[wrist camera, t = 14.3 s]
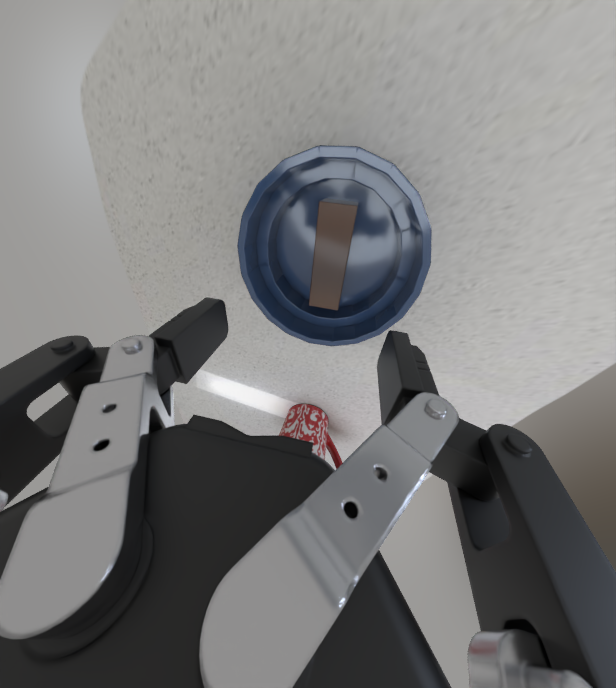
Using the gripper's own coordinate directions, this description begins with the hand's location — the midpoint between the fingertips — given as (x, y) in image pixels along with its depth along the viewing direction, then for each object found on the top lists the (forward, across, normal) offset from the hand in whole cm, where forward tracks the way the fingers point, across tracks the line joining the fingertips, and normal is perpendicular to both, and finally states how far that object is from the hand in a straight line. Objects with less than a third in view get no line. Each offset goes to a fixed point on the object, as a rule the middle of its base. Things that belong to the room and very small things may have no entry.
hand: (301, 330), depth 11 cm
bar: (+15, 0, 0) cm, 15 cm away
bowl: (+15, 0, 0) cm, 15 cm away
